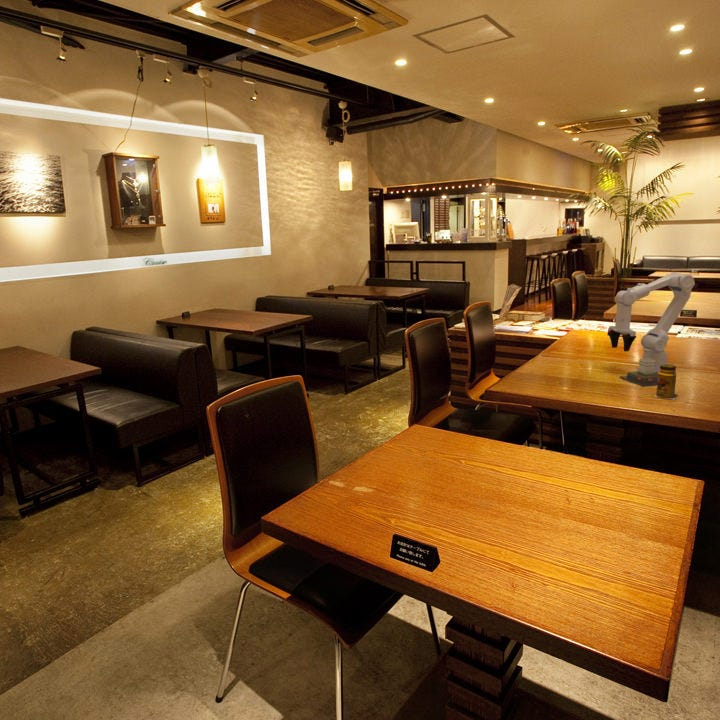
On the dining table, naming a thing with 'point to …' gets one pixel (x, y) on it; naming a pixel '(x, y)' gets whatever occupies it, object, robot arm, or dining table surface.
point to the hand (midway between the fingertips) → (620, 349)
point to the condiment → (666, 382)
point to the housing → (641, 379)
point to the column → (646, 366)
